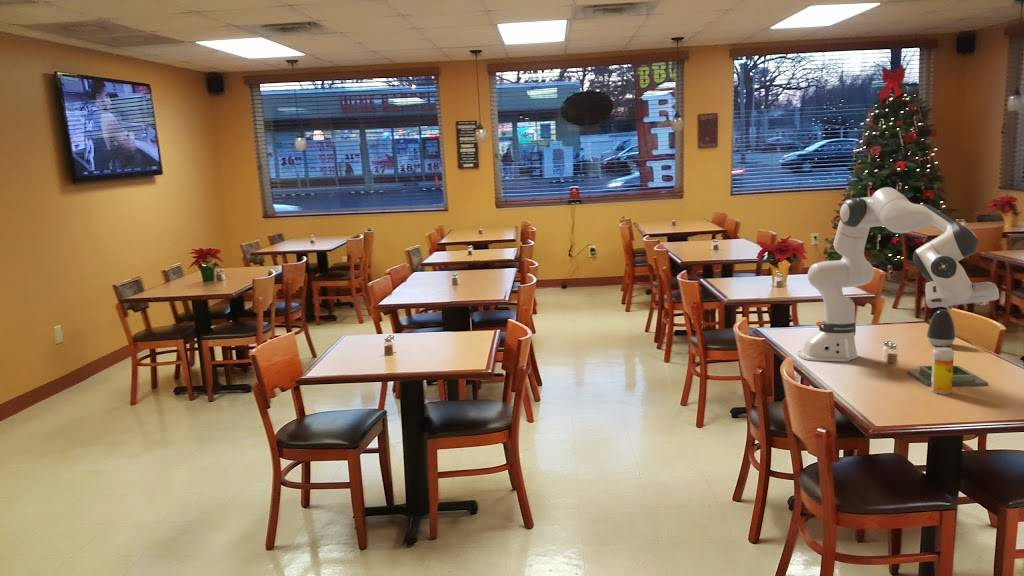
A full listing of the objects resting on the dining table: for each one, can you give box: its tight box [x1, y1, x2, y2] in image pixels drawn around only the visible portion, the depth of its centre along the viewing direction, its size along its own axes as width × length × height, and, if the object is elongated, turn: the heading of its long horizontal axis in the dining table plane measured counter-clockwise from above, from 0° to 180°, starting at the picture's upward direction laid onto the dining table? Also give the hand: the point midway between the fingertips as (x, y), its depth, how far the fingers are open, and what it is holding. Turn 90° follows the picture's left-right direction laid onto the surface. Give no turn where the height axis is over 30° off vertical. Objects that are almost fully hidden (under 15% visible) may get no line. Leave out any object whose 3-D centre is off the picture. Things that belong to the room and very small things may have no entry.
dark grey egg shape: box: [926, 308, 956, 347], centre depth 304 cm, size 10×10×15 cm
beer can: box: [930, 346, 955, 395], centre depth 246 cm, size 6×6×15 cm
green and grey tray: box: [907, 364, 989, 387], centre depth 261 cm, size 20×16×3 cm
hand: (966, 305), depth 241 cm, fingers open, 8 cm apart
